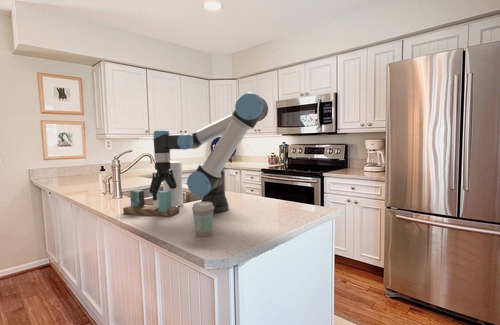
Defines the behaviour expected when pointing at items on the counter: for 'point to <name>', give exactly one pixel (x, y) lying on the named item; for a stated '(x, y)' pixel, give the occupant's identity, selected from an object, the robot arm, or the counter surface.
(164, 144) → the robot arm
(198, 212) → the coffee cup
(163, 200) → the block
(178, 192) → the tall pillar cylinder
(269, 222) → the counter surface
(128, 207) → the rail
